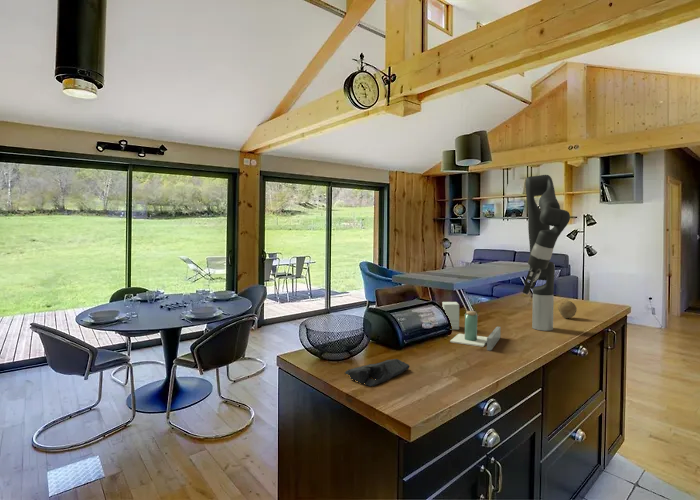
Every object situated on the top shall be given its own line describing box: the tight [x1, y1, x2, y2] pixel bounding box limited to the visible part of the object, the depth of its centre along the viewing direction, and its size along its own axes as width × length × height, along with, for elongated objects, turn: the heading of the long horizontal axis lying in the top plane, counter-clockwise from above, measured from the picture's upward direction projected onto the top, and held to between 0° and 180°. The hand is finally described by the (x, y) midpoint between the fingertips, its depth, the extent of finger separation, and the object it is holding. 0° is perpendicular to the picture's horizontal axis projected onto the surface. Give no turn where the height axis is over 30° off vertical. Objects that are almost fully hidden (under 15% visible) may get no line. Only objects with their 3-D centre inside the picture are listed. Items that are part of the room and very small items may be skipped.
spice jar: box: [464, 310, 478, 341], centre depth 171 cm, size 5×5×12 cm
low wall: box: [486, 326, 502, 352], centre depth 166 cm, size 22×2×5 cm, turn 149°
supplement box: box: [441, 301, 460, 330], centre depth 194 cm, size 7×7×13 cm
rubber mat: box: [449, 333, 488, 348], centre depth 171 cm, size 14×14×1 cm
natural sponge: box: [557, 299, 578, 319], centre depth 212 cm, size 9×9×10 cm
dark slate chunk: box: [344, 358, 410, 387], centre depth 133 cm, size 15×22×5 cm
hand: (527, 290), depth 164 cm, fingers open, 8 cm apart
